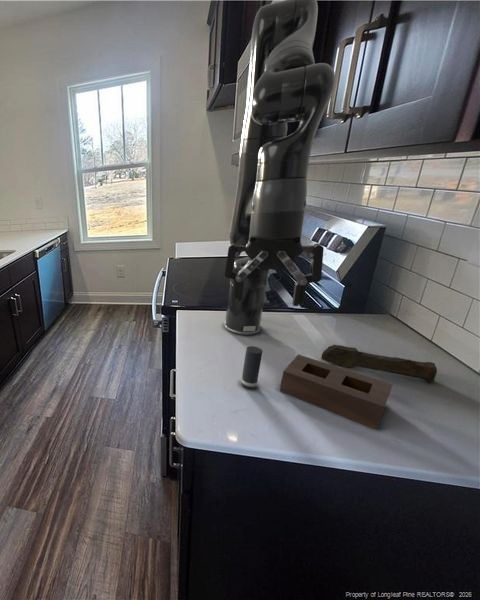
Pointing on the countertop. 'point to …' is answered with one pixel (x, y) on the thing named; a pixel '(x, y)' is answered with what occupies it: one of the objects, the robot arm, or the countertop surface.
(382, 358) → the hand tool
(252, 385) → the dark grey cylinder
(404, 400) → the countertop surface
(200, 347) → the countertop surface
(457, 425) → the countertop surface
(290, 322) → the countertop surface
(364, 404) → the holder
